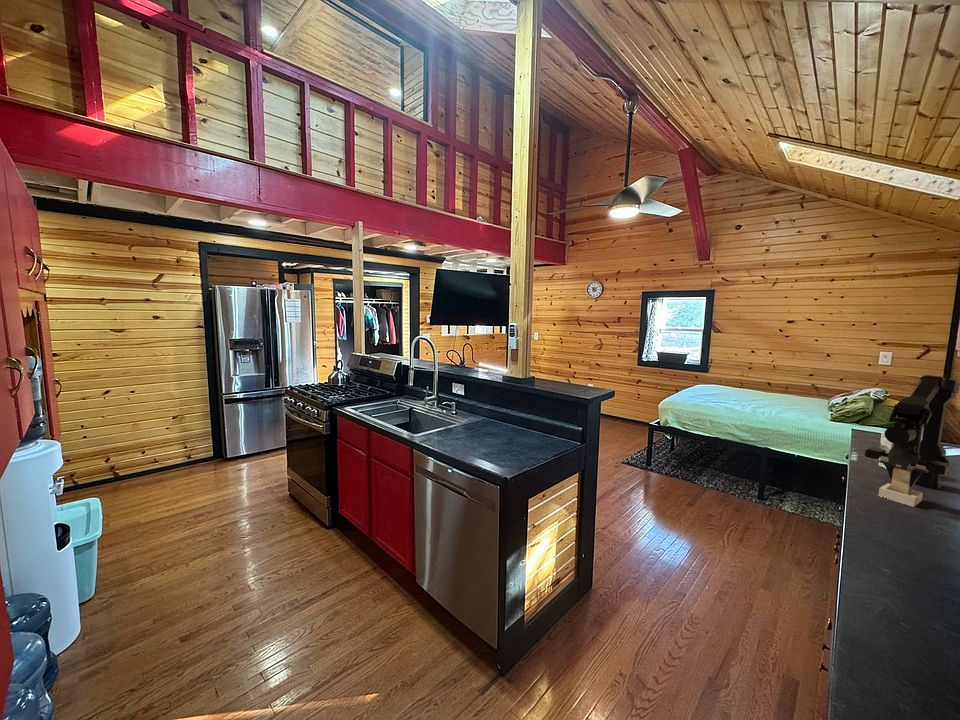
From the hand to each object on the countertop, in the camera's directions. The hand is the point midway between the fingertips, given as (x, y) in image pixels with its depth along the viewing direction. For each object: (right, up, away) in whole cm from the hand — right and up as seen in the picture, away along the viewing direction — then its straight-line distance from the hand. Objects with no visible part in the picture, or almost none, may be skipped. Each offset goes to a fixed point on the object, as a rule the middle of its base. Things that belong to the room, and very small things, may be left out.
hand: (901, 484), depth 133 cm
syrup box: (+25, -3, +27) cm, 37 cm away
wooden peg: (0, -3, 0) cm, 2 cm away
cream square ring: (0, -5, +1) cm, 5 cm away
